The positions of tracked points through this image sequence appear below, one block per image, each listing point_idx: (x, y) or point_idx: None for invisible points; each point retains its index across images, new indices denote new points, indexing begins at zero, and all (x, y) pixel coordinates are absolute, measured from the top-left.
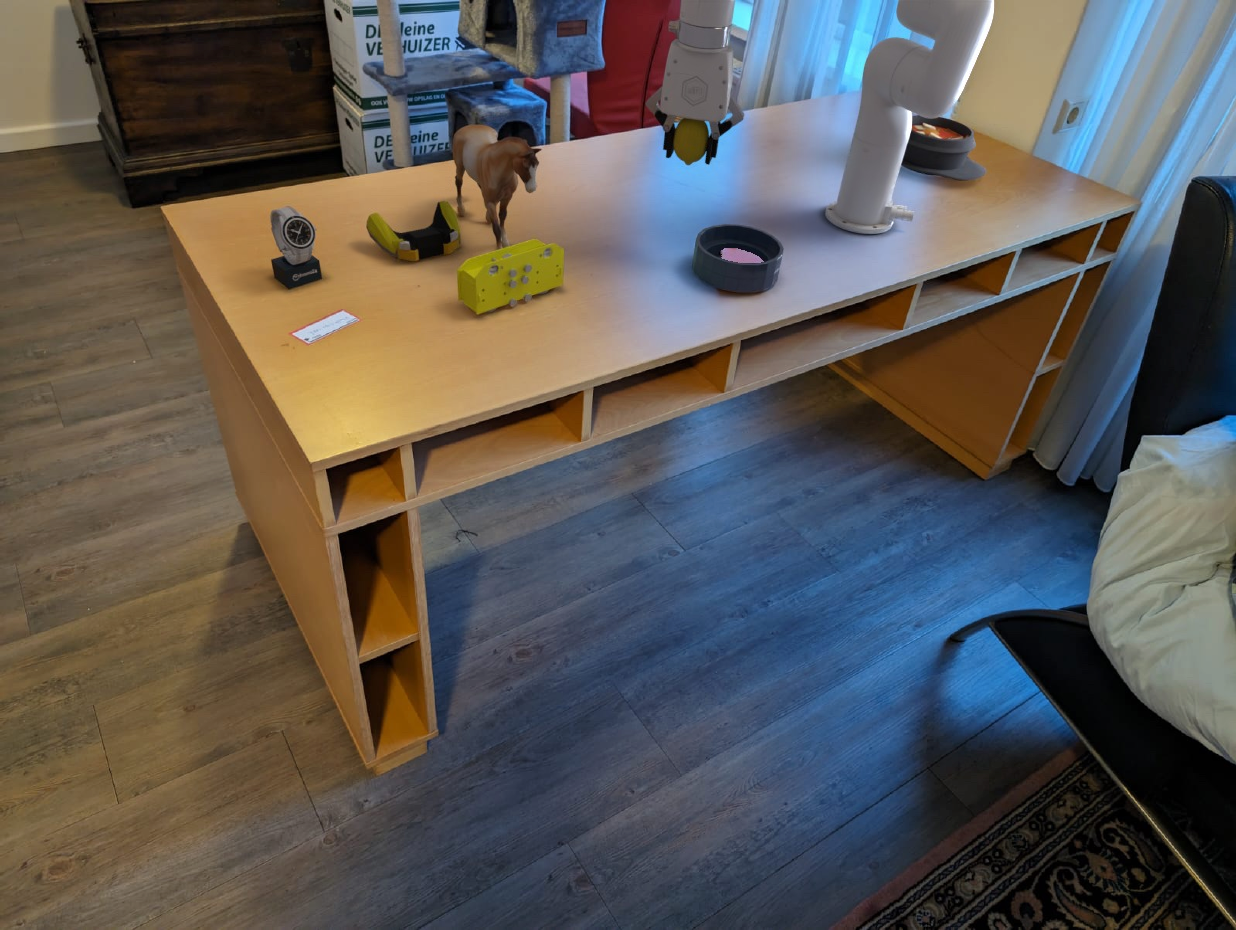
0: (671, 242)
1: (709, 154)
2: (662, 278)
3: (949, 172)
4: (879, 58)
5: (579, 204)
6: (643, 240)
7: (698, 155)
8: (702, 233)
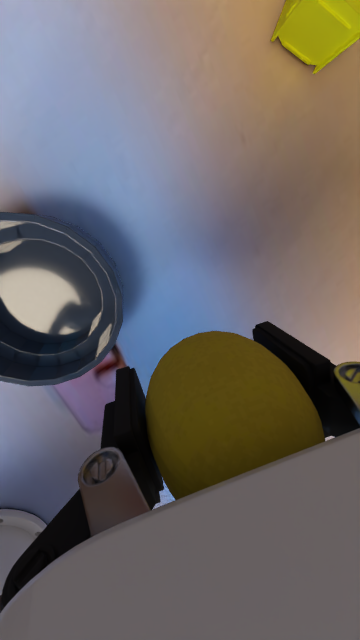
0: (182, 323)
1: (119, 388)
2: (139, 203)
3: None
4: None
5: (329, 338)
6: (219, 302)
7: (159, 363)
8: (115, 302)
